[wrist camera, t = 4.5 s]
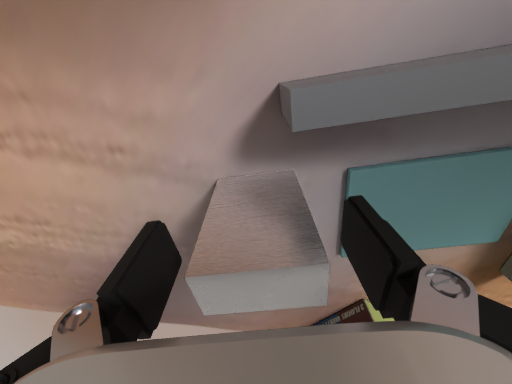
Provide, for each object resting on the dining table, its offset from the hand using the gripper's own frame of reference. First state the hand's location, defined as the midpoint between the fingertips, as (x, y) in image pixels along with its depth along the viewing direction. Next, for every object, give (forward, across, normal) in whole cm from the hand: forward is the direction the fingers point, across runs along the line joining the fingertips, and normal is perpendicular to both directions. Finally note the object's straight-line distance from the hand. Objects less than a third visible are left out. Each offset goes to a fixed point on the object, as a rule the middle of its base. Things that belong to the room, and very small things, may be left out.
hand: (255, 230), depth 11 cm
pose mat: (+4, -12, +3) cm, 13 cm away
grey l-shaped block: (+4, 0, +3) cm, 5 cm away
